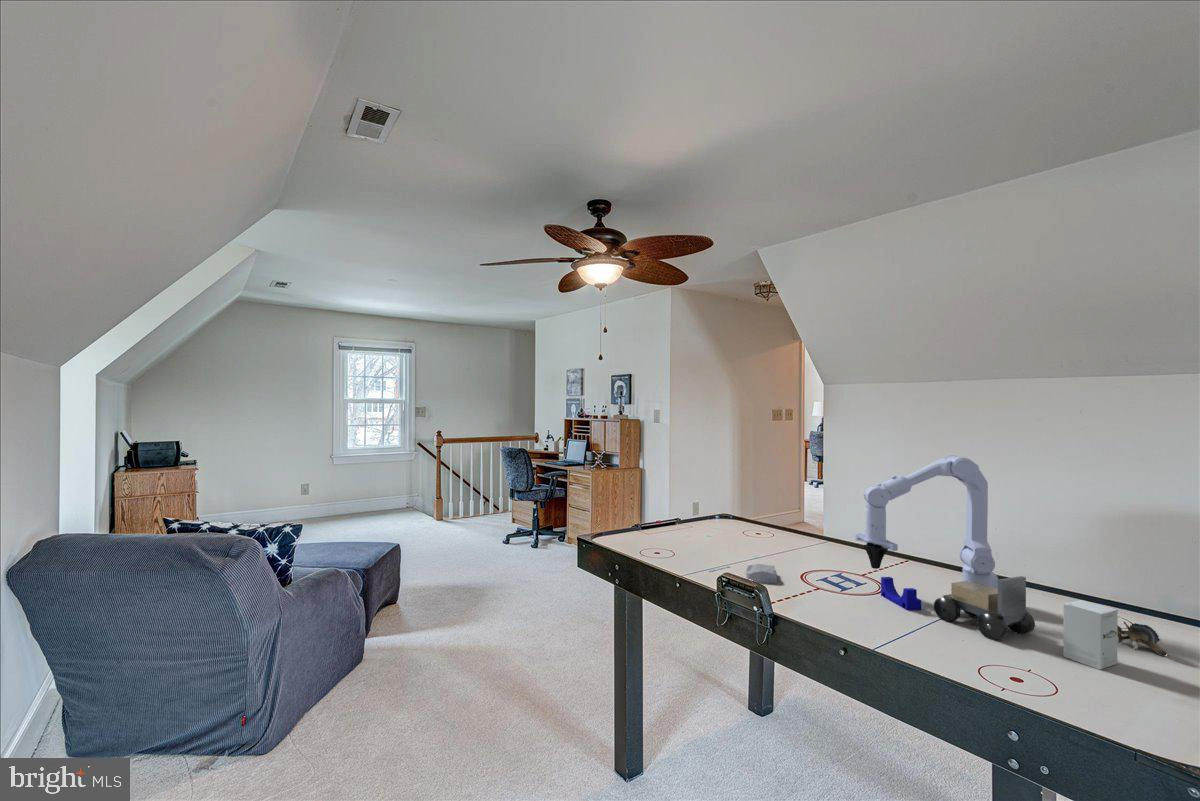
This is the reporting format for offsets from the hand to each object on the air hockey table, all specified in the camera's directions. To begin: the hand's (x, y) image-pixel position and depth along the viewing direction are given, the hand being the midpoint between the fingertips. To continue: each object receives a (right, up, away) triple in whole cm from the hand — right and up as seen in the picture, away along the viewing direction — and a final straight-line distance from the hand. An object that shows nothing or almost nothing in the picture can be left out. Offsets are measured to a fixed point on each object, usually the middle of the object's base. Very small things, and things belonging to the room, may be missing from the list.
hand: (875, 568), depth 170 cm
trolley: (+15, -7, -27) cm, 31 cm away
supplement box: (+26, -7, -46) cm, 53 cm away
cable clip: (+3, -8, -9) cm, 13 cm away
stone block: (-33, -8, +13) cm, 36 cm away
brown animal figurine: (+44, -8, -39) cm, 60 cm away
